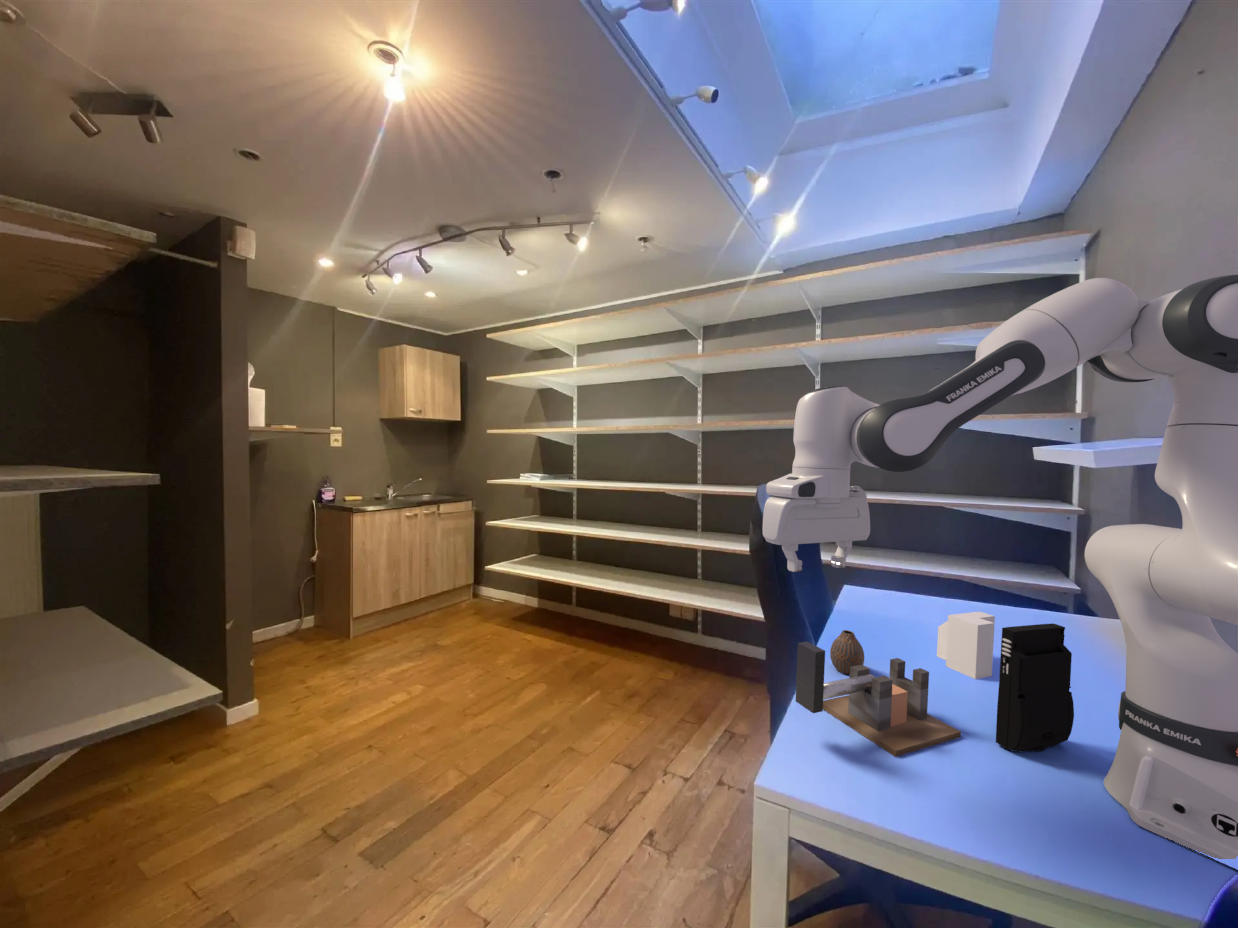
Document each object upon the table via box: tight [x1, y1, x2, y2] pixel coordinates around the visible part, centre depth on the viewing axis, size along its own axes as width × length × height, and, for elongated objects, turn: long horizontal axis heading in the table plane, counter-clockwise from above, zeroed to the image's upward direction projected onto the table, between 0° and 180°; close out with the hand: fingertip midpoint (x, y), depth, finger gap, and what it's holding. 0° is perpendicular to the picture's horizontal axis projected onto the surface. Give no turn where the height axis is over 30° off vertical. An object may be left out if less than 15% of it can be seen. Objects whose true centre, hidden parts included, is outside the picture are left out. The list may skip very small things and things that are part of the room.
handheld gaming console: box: [995, 623, 1075, 753], centre depth 81 cm, size 12×5×20 cm, turn 105°
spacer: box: [890, 684, 908, 726], centre depth 87 cm, size 5×4×6 cm
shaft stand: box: [823, 657, 962, 758], centre depth 87 cm, size 16×16×10 cm
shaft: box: [795, 641, 875, 714], centre depth 83 cm, size 4×15×10 cm, turn 112°
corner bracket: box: [936, 611, 996, 680], centre depth 113 cm, size 11×11×12 cm
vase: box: [829, 629, 865, 676], centre depth 108 cm, size 7×7×9 cm
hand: (816, 568), depth 80 cm, fingers open, 8 cm apart
